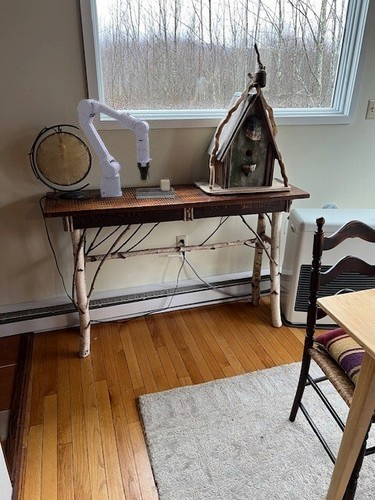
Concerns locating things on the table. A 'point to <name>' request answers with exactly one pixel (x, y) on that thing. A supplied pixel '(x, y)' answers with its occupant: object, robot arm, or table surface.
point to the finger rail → (156, 191)
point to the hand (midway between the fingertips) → (144, 178)
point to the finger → (146, 179)
